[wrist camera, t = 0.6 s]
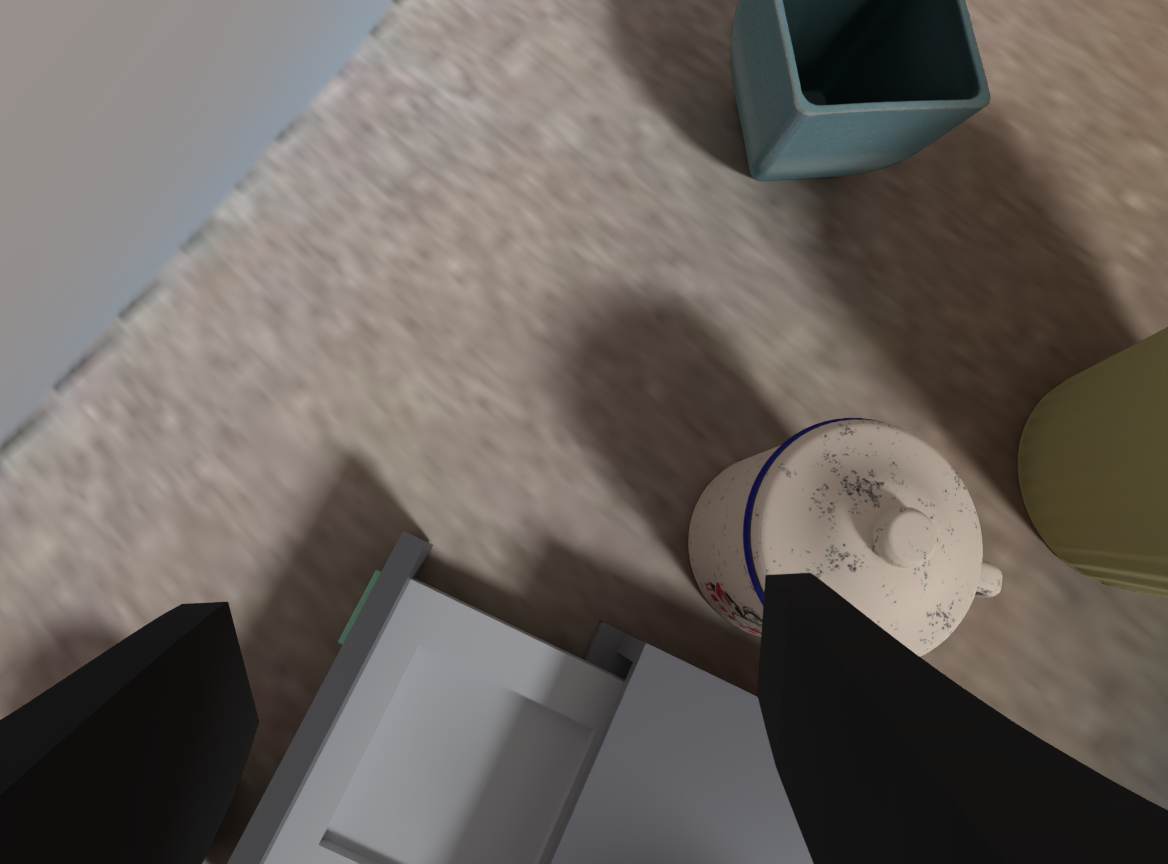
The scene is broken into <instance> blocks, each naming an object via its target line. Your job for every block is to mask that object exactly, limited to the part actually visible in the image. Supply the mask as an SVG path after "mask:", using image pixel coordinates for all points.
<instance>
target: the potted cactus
mask: <svg viewBox="0 0 1168 864" xmlns="http://www.w3.org/2000/svg"><path fill="white" fill-rule="evenodd" d="M1017 464H1018V479H1019V486H1020V490H1021V494H1022V498H1023V502H1024V505H1025V507H1026V510H1027V512H1028V514H1029V517H1030V519H1031V521H1032V523H1033V525H1034V527H1035V528H1036V530H1037V532H1038V533H1039V535H1040V536H1041V537H1042V539H1043V540H1044V542H1045V543H1046V544H1047V545H1048V547H1049V548H1050V549H1051V550H1052V551H1053V552H1054V553H1055V554H1056V555H1057V556H1058V557H1059V558H1060V559H1061V560H1062V561H1063V562H1065V563H1066V564H1067V565H1069V566H1070V567H1071V568H1073V569H1074V570H1076V571H1077V572H1079V573H1081V574H1082V575H1084V576H1086V577H1089V578H1091V579H1093V580H1095V581H1098V582H1101V583H1102V584H1106V585H1110V586H1115V587H1120V588H1122V589H1126V590H1131V591H1136V592H1141V593H1146V594H1151V595H1156V596H1160V597H1165V598H1168V327H1167V328H1165V329H1163V330H1161V331H1159V332H1157V333H1155V334H1154V335H1152V336H1150V337H1148V338H1146V339H1144V340H1142V341H1140V342H1138V343H1136V344H1134V345H1132V346H1130V347H1128V348H1126V349H1125V350H1123V351H1121V352H1119V353H1117V354H1115V355H1113V356H1111V357H1109V358H1107V359H1105V360H1103V361H1101V362H1099V363H1097V364H1095V365H1094V366H1092V367H1090V368H1088V369H1086V370H1084V371H1082V372H1080V373H1078V374H1076V375H1074V376H1072V377H1070V378H1068V379H1066V380H1065V381H1064V382H1063V383H1061V384H1060V385H1058V386H1057V387H1055V388H1054V389H1052V390H1051V391H1050V392H1048V393H1047V394H1046V395H1045V396H1044V397H1043V398H1042V399H1041V400H1040V401H1039V403H1038V404H1037V405H1036V406H1035V408H1034V409H1033V411H1032V412H1031V414H1030V416H1029V418H1028V420H1027V422H1026V424H1025V426H1024V429H1023V432H1022V435H1021V439H1020V443H1019V450H1018V463H1017Z"/></svg>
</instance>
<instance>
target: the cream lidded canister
mask: <svg viewBox="0 0 1168 864" xmlns="http://www.w3.org/2000/svg"><path fill="white" fill-rule="evenodd" d="M688 550H689V558H690V563H691V567H692V571H693V574H694V577H695V579H696V582H697V584H698V586H699V588H700V590H701V592H702V594H703V595H704V597H705V598H706V600H707V601H708V602H709V604H710V605H711V606H712V607H713V608H714V610H716V611H717V612H718V613H719V614H720V615H721V616H722V617H723V618H724V619H725V620H727V621H728V622H729V623H731V624H732V625H734V626H735V627H737V628H739V629H741V630H743V631H745V632H747V633H750V634H752V635H755V636H759V637H761V634H762V619H763V605H764V590H765V575H775V574H795V573H812V574H813V575H814V576H816V577H817V578H818V579H820V580H821V581H822V582H824V583H825V584H826V585H828V586H829V587H830V588H832V589H833V590H834V591H835V592H837V593H838V594H839V595H840V596H842V597H843V598H844V599H846V600H847V601H848V602H849V603H851V604H852V605H853V606H854V607H856V608H857V609H858V610H859V611H861V612H862V613H863V614H865V615H866V616H867V617H868V618H870V619H871V620H872V621H873V622H875V623H876V624H877V625H879V626H880V627H881V628H882V629H884V630H885V631H886V632H888V633H889V634H890V635H891V636H893V637H894V638H895V639H897V640H898V641H899V642H901V643H902V644H903V645H905V646H906V647H907V648H908V649H910V650H911V651H912V652H914V653H915V654H916V655H918V656H919V657H920V656H922V655H924V654H926V653H928V652H930V651H931V650H933V649H934V648H936V647H937V646H938V645H939V644H941V643H942V642H943V641H944V640H945V639H947V637H948V636H949V635H950V634H951V633H952V632H953V631H954V630H955V629H956V628H957V626H958V625H959V624H960V622H961V621H962V619H963V618H964V616H965V615H966V613H967V611H968V609H969V607H970V605H971V603H972V601H973V599H974V597H993V596H996V595H997V594H999V592H1000V590H1001V586H1002V573H1001V571H1000V570H999V569H998V568H997V567H996V566H994V565H993V564H990V563H988V562H985V561H982V557H983V548H982V535H981V529H980V524H979V519H978V516H977V512H976V509H975V507H974V504H973V501H972V499H971V497H970V495H969V493H968V490H967V488H966V487H965V485H964V483H963V482H962V480H961V478H960V477H959V476H958V474H957V473H956V471H955V470H954V469H953V467H952V466H951V465H950V464H949V463H948V462H947V460H946V459H945V458H944V457H943V456H942V455H941V454H940V453H938V452H937V451H936V450H935V449H934V448H933V447H931V446H930V445H929V444H928V443H926V442H925V441H923V440H922V439H920V438H919V437H917V436H915V435H914V434H912V433H910V432H908V431H906V430H904V429H901V428H899V427H897V426H893V425H890V424H887V423H884V422H880V421H875V420H871V419H862V418H843V419H835V420H830V421H825V422H822V423H819V424H815V425H813V426H811V427H808V428H806V429H804V430H802V431H800V432H799V433H797V434H795V435H794V436H792V437H791V438H789V439H788V440H787V441H785V442H784V443H783V444H782V445H779V446H777V447H774V448H772V449H769V450H767V451H764V452H762V453H759V454H756V455H754V456H751V457H749V458H746V459H744V460H741V461H739V462H737V463H735V464H733V465H731V466H729V467H728V468H726V469H725V470H723V471H722V472H721V473H720V474H718V475H717V476H716V477H715V478H714V479H713V480H712V481H711V482H710V483H709V485H708V486H707V487H706V489H705V490H704V491H703V493H702V494H701V496H700V498H699V500H698V502H697V504H696V506H695V509H694V511H693V514H692V518H691V522H690V527H689V536H688Z"/></svg>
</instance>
